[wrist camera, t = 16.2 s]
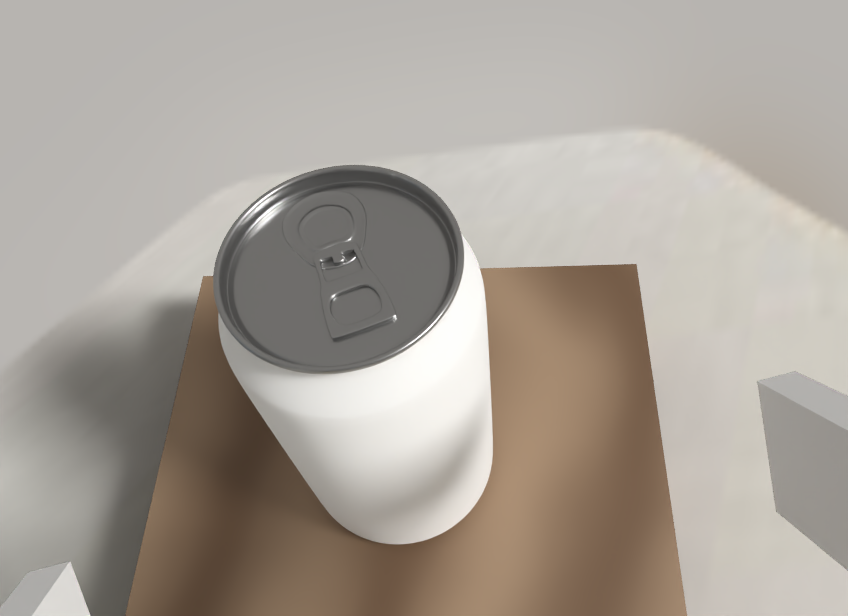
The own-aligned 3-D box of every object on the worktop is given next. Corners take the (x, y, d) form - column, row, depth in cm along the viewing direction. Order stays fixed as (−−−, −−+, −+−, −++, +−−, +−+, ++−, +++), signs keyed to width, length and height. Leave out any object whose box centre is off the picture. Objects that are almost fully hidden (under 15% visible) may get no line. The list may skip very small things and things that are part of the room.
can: (453, 351, 29) (423, 118, 19) (524, 505, 25) (533, 323, 15) (292, 411, 28) (170, 203, 18) (342, 579, 25) (226, 438, 14)
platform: (156, 710, 27) (105, 700, 23) (232, 324, 35) (203, 276, 32) (675, 726, 25) (701, 718, 21) (623, 316, 33) (636, 264, 30)
